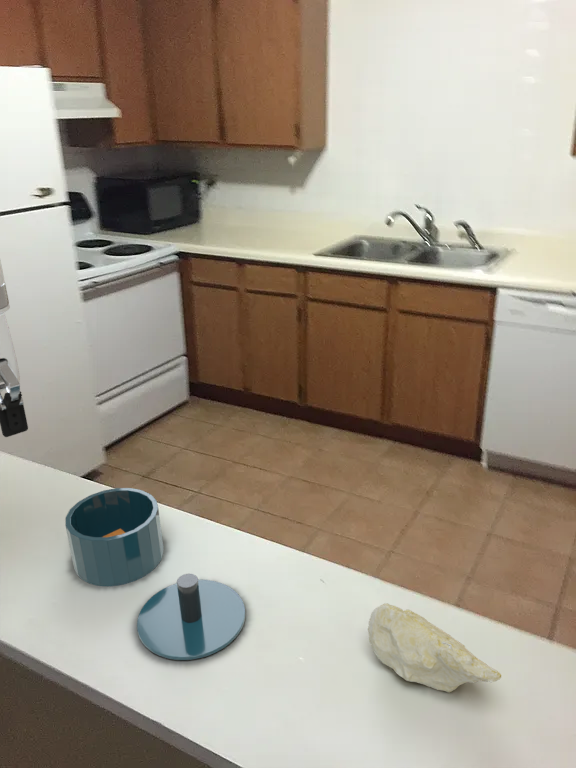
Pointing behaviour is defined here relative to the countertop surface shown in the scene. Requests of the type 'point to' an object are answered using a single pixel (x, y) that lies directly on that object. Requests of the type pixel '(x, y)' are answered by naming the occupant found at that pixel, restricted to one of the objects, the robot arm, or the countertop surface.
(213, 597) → the lid
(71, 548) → the pot
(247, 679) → the countertop surface
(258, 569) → the countertop surface
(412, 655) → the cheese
